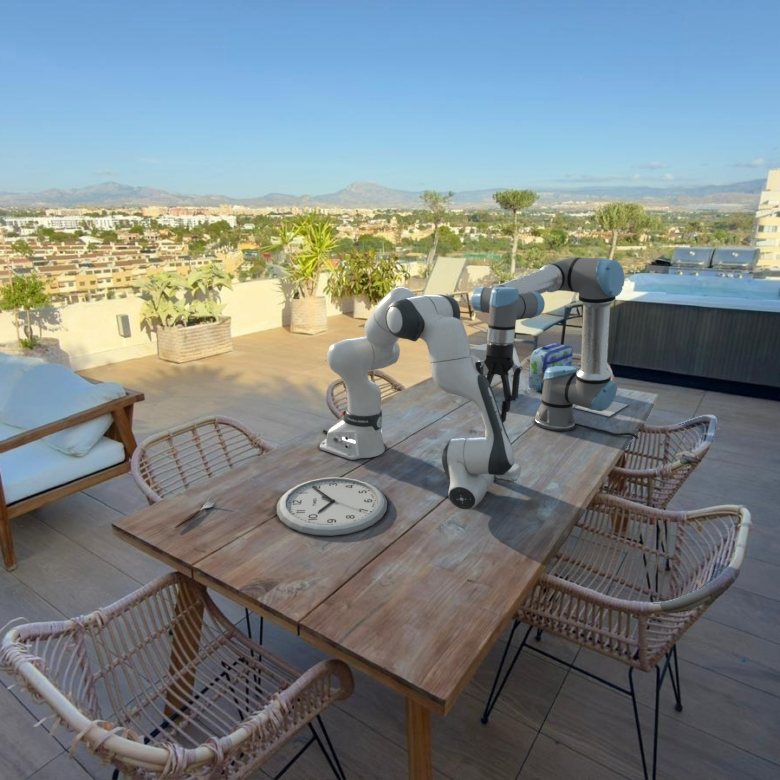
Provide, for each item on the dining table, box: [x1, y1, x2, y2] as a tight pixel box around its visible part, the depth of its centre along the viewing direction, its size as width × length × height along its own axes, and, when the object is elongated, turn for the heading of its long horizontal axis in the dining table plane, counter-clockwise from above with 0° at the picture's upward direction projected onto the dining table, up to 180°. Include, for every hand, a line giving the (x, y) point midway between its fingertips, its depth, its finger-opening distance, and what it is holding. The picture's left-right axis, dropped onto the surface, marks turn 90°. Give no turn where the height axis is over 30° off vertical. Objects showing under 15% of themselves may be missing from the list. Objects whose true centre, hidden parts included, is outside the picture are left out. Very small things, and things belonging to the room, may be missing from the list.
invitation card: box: [573, 400, 629, 418], centre depth 226 cm, size 21×1×15 cm
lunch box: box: [528, 343, 574, 392], centre depth 249 cm, size 26×11×21 cm, turn 134°
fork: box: [174, 492, 220, 529], centre depth 137 cm, size 3×16×2 cm, turn 160°
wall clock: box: [276, 476, 388, 537], centre depth 142 cm, size 30×2×30 cm
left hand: (491, 456), depth 160 cm, fingers closed on bottle, 5 cm apart
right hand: (494, 419), depth 155 cm, fingers open, 5 cm apart
